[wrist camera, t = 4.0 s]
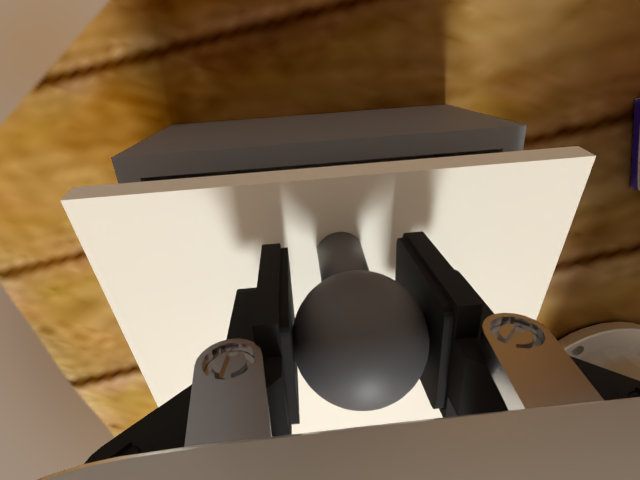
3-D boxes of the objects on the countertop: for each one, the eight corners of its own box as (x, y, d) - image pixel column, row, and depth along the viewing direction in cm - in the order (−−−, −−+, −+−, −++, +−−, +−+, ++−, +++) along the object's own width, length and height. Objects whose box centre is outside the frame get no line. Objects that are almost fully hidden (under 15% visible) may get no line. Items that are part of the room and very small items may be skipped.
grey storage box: (445, 104, 22) (526, 125, 14) (428, 347, 29) (477, 443, 21) (171, 124, 21) (111, 157, 14) (223, 368, 28) (202, 476, 21)
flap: (578, 146, 12) (795, 265, 7) (478, 445, 21) (539, 585, 16) (73, 187, 11) (-92, 355, 6) (201, 477, 21) (178, 636, 16)
